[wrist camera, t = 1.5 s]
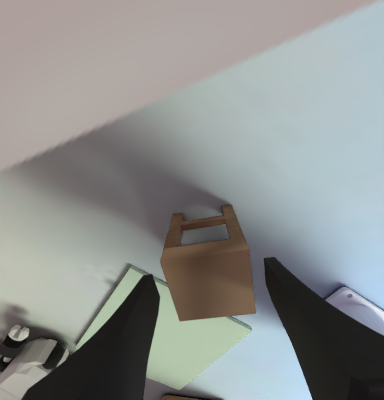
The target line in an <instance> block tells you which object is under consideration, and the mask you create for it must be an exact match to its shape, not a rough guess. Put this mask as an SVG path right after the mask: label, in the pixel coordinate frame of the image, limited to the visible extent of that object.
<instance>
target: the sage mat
mask: <svg viewBox="0 0 384 400" xmlns="http://www.w3.org/2000/svg"><path fill="white" fill-rule="evenodd" d="M143 275H149V274H147V273H145V272H143V271H141V270H140V269H138V268H136V267H134V266H132V265H131V267H130V268H129V270H128V271H127V273H126V274H125V275H124V277H123V278H122V280H121V281H120V283H119V284H118V286H117V287H116V289H115V290H114V291H113V293H112V294H111V296H110V297H109V299H108V300H107V302H106V303H105V305H104V306H103V307H102V309H101V310H100V312H99V313H98V315H97V316H96V318H95V319H94V320H93V322H92V323H91V325H90V326H89V328H88V329H87V331H86V332H85V334H84V335H83V336H82V338H81V339H80V341H79V342H78V344H77V345H76V347H75V349H79V348H80V347H81V346H82V345H83V344H84V343H85V342H86V341H88V340H89V339H90V338H91V337H92V336H93V335H94V334H95V333H96V332H97V331H98V330H99V329H100V328H101V327H102V326H103V325H104V324H105V322H106V321H107V320H108V319H109V318H110V317H111V316H112V315H113V313H114V312H115V311H116V310H117V309H118V307H119V306H120V305H121V304H122V303H123V301H124V300H125V299H126V297H127V296H128V295H129V294H130V292H131V291H132V290H133V288H134V287H135V286H136V284H137V283H138V282H139V280H140V279H141V278H142V276H143ZM153 278H154V281H155V283H156V286H157V289H158V292H159V295H160V305H159V313H158V318H157V322H156V327H155V331H154V336H153V340H152V344H151V349H150V353H149V359H148V365H147V372H146V377H147V378H150V379H152V380H154V381H157V382H159V383H162V384H164V385H167V386H169V387H172V388H174V389H177V390H181V389H182V388H183V387H184V386H186V385H187V384H188V383H189V382H190V381H192V380H193V379H194V378H195V377H197V376H198V375H199V374H200V373H201V372H203V371H204V370H205V369H206V368H207V367H209V366H210V365H211V364H212V363H214V362H215V361H216V360H217V359H218V358H220V357H221V356H222V355H223V354H225V353H226V352H227V351H228V350H229V349H231V348H232V347H233V346H234V345H235V344H237V343H238V342H239V341H240V340H242V339H243V338H244V337H245V336H246V335H248V334H249V333H250V332H251V331H252V328H251V327H250V326H248V325H246V324H244V323H242V322H240V321H238V320H236V319H234V318H232V317H231V316H227V317H218V318H208V319H199V320H190V321H181V322H179V319H178V315H177V312H176V309H175V306H174V303H173V300H172V297H171V294H170V291H169V288H168V285H167V283H165V282H163V281H161V280H159V279H157V278H155V277H153Z"/></svg>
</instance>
